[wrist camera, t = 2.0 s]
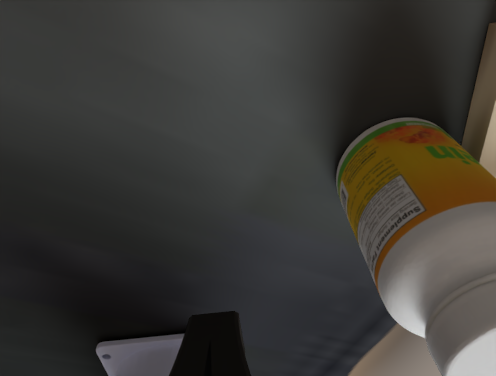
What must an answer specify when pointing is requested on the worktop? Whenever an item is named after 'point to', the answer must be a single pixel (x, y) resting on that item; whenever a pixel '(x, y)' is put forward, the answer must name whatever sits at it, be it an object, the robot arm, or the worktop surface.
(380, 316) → the worktop surface
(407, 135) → the supplement bottle
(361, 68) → the worktop surface
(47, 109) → the worktop surface
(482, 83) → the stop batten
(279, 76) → the worktop surface
